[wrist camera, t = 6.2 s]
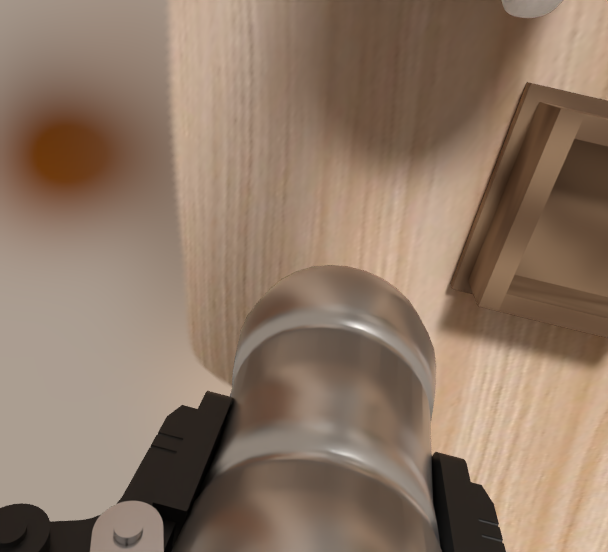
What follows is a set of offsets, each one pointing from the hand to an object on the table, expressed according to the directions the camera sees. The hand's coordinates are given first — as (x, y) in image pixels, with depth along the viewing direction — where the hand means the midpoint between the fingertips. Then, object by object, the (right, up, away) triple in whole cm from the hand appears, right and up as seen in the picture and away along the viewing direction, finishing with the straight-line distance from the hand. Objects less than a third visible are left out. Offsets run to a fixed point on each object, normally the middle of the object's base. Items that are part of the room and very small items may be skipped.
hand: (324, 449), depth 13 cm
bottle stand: (+17, +8, +17) cm, 26 cm away
